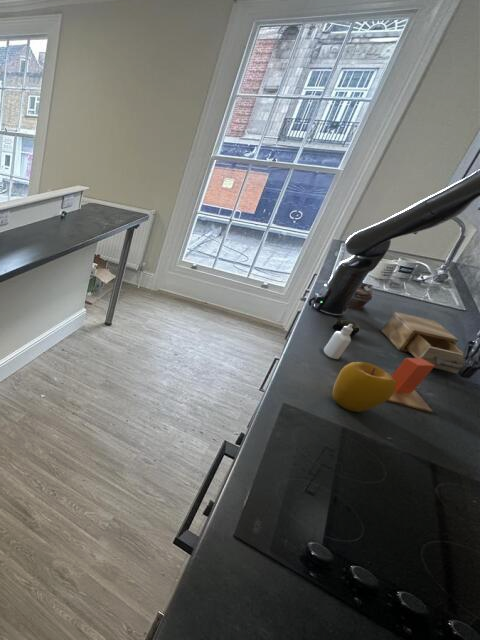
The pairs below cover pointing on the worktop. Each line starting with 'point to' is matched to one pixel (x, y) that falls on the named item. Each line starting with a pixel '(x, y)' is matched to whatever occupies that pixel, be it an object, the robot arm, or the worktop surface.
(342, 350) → the eye dropper bottle
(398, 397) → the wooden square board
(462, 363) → the drawer
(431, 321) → the cabinet
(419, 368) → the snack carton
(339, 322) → the tape measure
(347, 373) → the apple
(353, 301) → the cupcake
